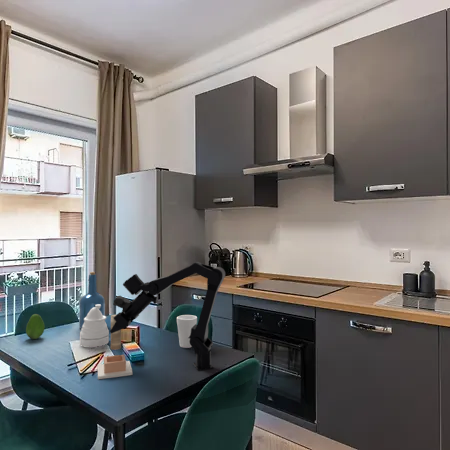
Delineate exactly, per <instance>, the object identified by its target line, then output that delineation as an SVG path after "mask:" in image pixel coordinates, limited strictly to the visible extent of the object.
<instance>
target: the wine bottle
mask: <svg viewBox="0 0 450 450" xmlns="http://www.w3.org/2000/svg"><path fill="white" fill-rule="evenodd" d="M87 286H88V287H87V288H88V290H87V294H85V295H83V296H82V297H80V299H79V314H78V315H79V319H78V320H79V321H78V323H79V325H78V326H79V329H82V326H83V324H84V318H85V317H86V316H87V314H88V313H89V311H90V310H91V309H92V308H93V307H95V305H97V304H100V305H101V307H100V309H99V310H100V311H101V313H102V315H103V316H106V300H105V297H104V296H103V294H100V293H99V292H97V291H98V290H97V274H96V272H95V271H90V272H89V275H88V285H87Z"/></svg>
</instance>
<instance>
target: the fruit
mask: <svg viewBox="0 0 450 450" xmlns="http://www.w3.org/2000/svg"><path fill="white" fill-rule="evenodd" d="M44 332H45V322H44V320H43V318H42V317H41V315H40V314H37V313H34V314H32V315H31V316H30V318H29V320H28V322H27V323H26V328H25V334H26V336H27V337H28V338H29V339H31V340H36V339H39V338H41V336H42V335H43V334H44Z"/></svg>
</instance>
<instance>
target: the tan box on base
mask: <svg viewBox="0 0 450 450" xmlns="http://www.w3.org/2000/svg"><path fill="white" fill-rule="evenodd" d="M127 376H133V368H132V366H131V362H130V360H126V357H125V354H117V355H108V356H107V355H106V356H103V363H99V364H97V380H105V379H110V378H118V377H127Z"/></svg>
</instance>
